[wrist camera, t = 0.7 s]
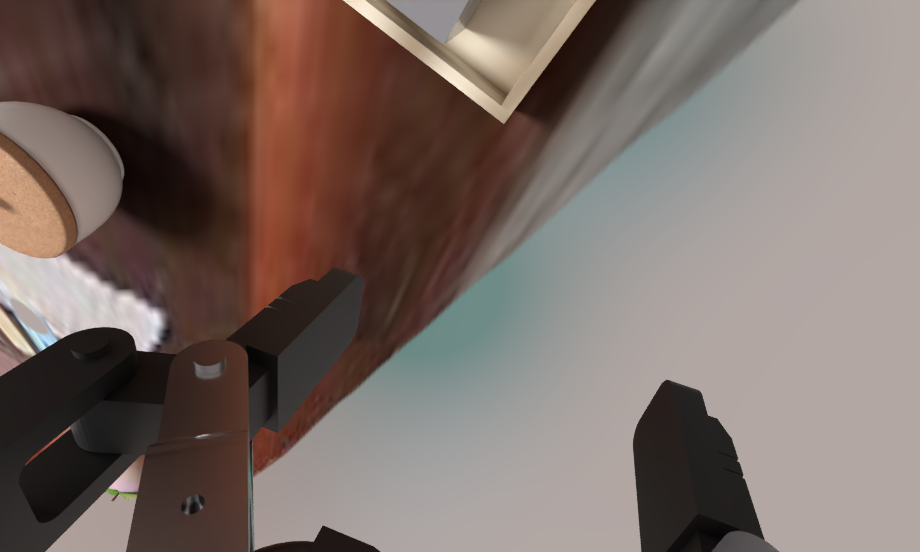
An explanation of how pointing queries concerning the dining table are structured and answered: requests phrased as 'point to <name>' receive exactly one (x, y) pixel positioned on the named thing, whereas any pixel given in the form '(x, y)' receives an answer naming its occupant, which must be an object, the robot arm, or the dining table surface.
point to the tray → (488, 45)
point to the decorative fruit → (128, 481)
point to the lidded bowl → (53, 179)
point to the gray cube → (439, 15)
